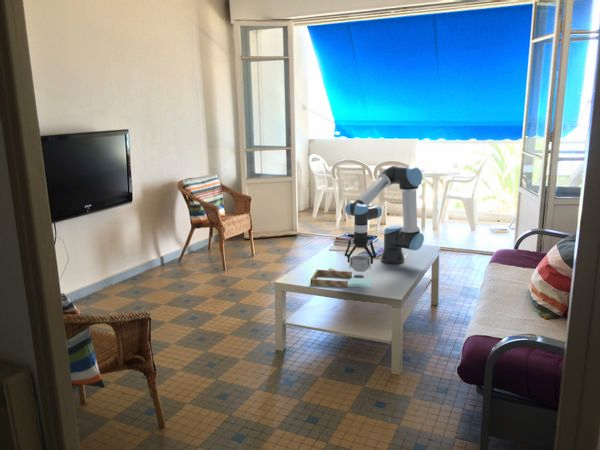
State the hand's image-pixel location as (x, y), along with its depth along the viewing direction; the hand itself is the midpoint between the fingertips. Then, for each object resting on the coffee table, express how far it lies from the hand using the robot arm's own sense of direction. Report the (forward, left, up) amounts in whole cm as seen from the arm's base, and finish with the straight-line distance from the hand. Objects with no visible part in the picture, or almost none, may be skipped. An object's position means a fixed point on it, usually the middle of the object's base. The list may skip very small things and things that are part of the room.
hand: (360, 268), depth 306 cm
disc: (+2, -12, -9) cm, 15 cm away
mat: (0, 0, -9) cm, 9 cm away
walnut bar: (+17, -16, -9) cm, 25 cm away
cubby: (+17, 0, -9) cm, 19 cm away
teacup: (-1, 0, -2) cm, 2 cm away
